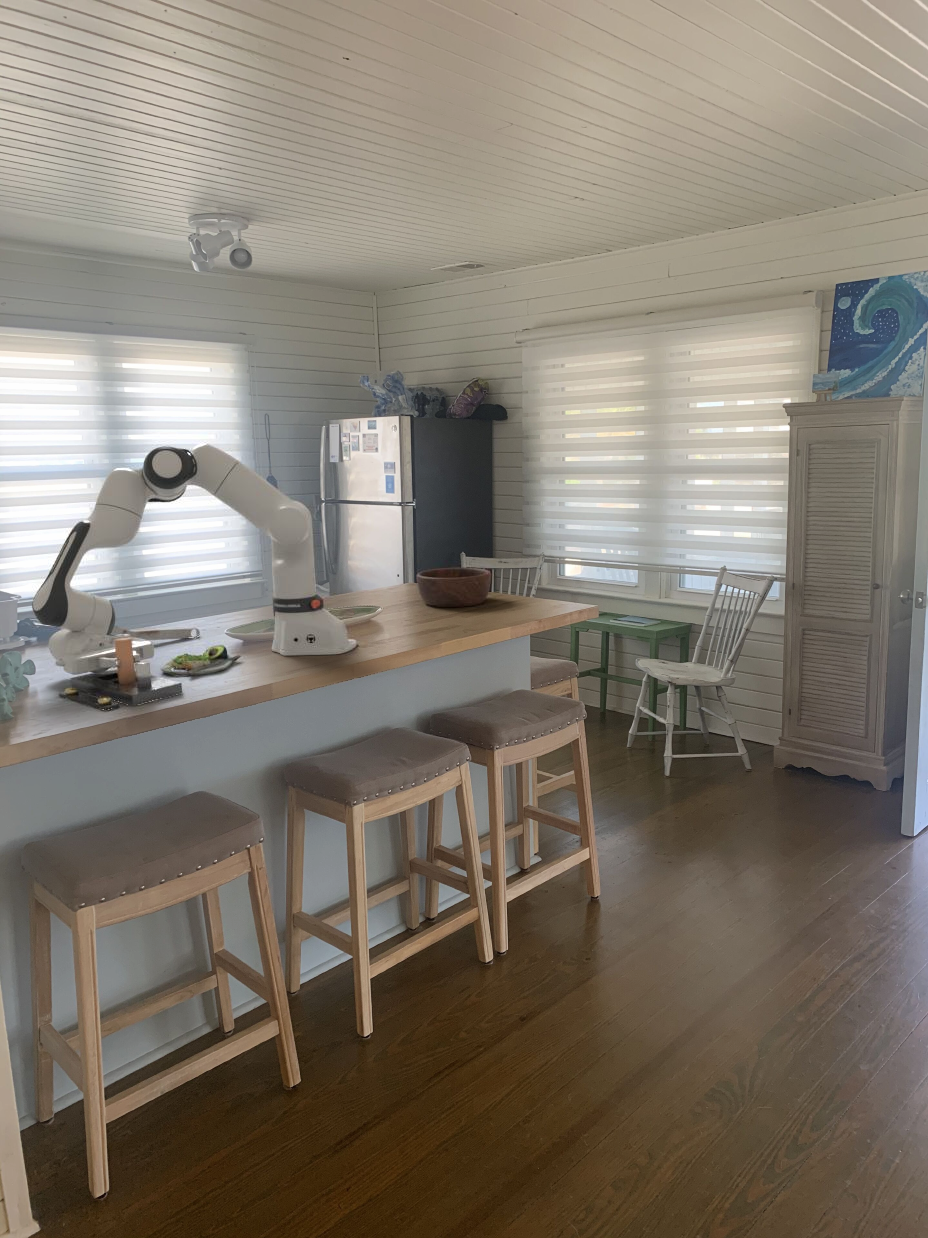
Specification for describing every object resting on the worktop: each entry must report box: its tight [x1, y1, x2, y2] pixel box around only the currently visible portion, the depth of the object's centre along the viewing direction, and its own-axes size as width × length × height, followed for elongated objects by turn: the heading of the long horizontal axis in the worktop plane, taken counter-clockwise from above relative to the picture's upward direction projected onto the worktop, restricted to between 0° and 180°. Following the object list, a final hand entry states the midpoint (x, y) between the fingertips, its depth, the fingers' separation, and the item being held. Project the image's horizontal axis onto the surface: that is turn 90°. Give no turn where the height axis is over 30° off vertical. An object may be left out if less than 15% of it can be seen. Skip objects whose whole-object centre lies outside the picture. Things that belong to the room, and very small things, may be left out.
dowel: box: [114, 638, 136, 685], centre depth 201 cm, size 4×4×12 cm
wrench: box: [110, 624, 201, 641], centre depth 250 cm, size 8×2×30 cm
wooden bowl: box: [416, 567, 492, 608], centre depth 301 cm, size 25×25×10 cm
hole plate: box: [58, 661, 183, 711], centre depth 200 cm, size 26×17×8 cm, turn 51°
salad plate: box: [160, 644, 242, 676], centre depth 221 cm, size 19×18×5 cm
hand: (127, 661), depth 200 cm, fingers closed on dowel, 4 cm apart
